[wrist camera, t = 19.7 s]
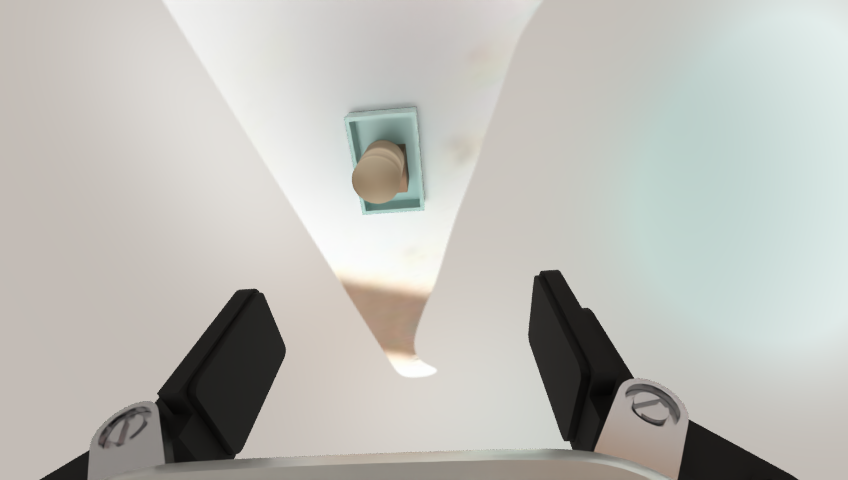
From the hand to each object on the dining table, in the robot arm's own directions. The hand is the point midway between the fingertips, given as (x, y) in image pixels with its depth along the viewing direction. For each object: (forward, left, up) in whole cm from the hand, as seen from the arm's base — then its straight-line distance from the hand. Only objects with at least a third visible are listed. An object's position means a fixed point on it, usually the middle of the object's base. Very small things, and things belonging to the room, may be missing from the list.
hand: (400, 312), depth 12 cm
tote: (+3, -3, -28) cm, 29 cm away
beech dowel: (+2, -3, -24) cm, 24 cm away
